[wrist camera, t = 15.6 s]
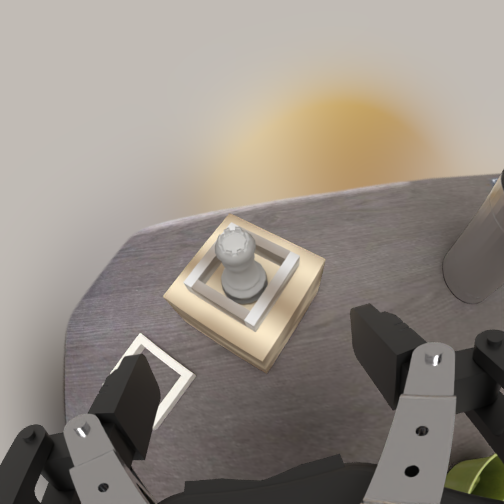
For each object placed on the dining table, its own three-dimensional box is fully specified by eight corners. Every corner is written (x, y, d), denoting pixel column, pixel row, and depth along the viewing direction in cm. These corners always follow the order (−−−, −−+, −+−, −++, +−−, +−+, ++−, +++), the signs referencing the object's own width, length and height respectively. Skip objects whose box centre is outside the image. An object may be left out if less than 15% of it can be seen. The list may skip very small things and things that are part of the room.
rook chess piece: (275, 275, 30) (273, 227, 23) (254, 313, 28) (244, 275, 21) (237, 258, 32) (223, 209, 25) (214, 293, 30) (193, 252, 23)
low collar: (144, 336, 36) (140, 332, 35) (196, 375, 33) (193, 373, 32) (108, 386, 33) (102, 384, 32) (156, 429, 30) (151, 430, 29)
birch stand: (238, 249, 42) (226, 202, 33) (318, 291, 37) (327, 249, 29) (185, 321, 37) (155, 288, 28) (266, 373, 33) (260, 357, 24)
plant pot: (468, 433, 25) (509, 430, 17) (497, 472, 20) (537, 474, 13) (416, 488, 23) (451, 502, 15) (449, 525, 18) (484, 540, 11)
